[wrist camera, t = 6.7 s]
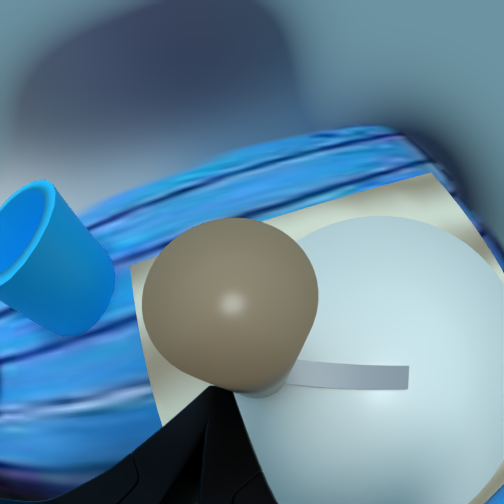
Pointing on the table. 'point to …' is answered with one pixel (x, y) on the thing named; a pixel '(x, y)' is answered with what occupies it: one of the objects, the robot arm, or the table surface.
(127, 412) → the table surface
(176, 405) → the dial board
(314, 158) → the table surface
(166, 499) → the robot arm
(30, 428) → the table surface
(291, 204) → the table surface
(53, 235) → the mug
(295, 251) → the dial
